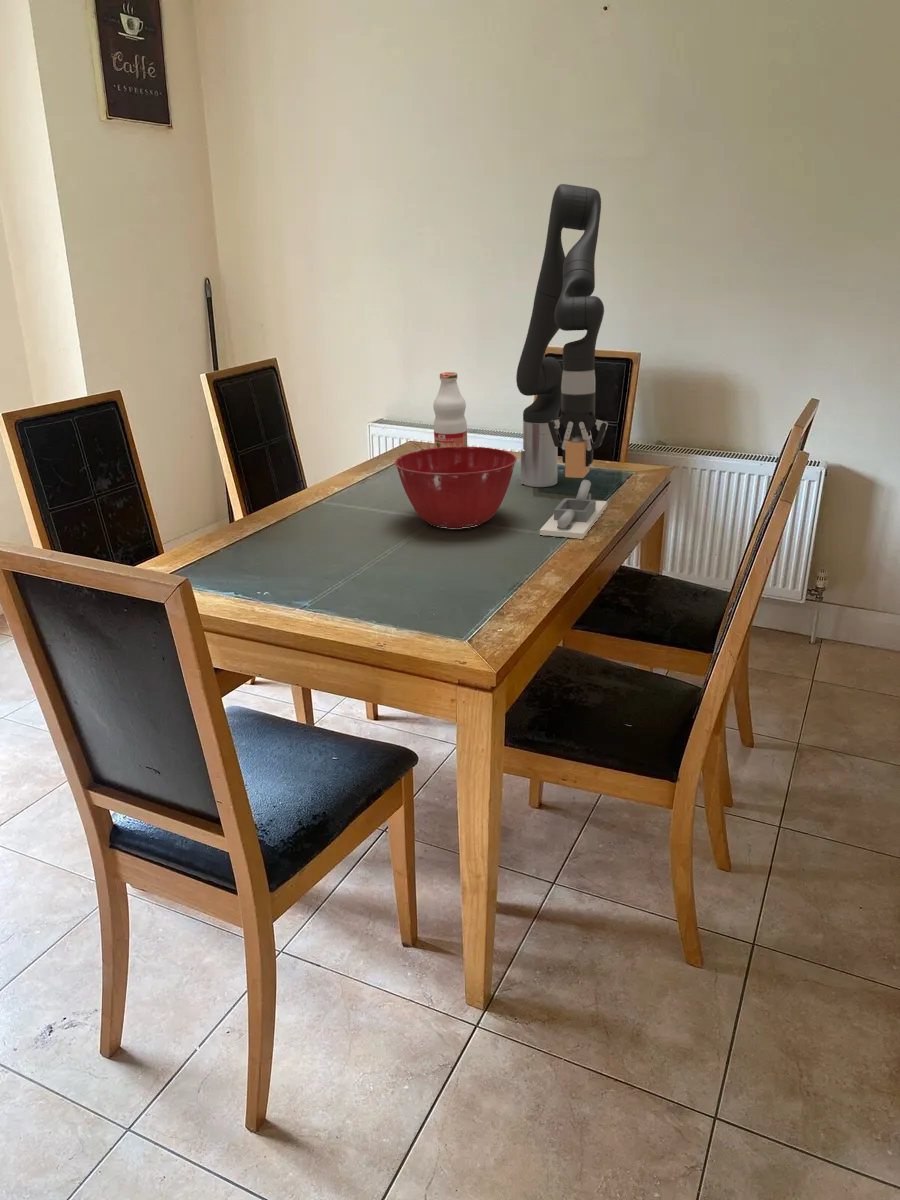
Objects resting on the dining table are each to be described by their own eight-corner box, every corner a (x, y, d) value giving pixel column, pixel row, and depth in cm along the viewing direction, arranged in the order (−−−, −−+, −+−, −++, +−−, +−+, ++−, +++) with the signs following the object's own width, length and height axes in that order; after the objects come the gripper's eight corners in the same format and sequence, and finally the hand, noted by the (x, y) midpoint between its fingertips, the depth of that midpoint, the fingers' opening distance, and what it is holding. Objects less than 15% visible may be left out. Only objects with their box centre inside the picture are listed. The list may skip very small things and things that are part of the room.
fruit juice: (474, 470, 261) (472, 372, 251) (454, 477, 254) (451, 376, 244) (449, 466, 267) (445, 370, 256) (428, 473, 260) (424, 374, 249)
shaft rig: (539, 536, 204) (539, 505, 201) (567, 504, 226) (567, 476, 224) (583, 539, 201) (584, 508, 198) (607, 507, 223) (607, 478, 220)
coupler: (571, 470, 213) (572, 433, 209) (589, 471, 211) (589, 433, 208) (565, 477, 207) (565, 439, 204) (583, 477, 206) (583, 439, 202)
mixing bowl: (414, 503, 232) (411, 443, 226) (524, 506, 227) (524, 445, 221) (384, 538, 207) (380, 472, 201) (508, 542, 201) (507, 474, 195)
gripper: (613, 388, 203) (611, 463, 209) (551, 387, 208) (551, 460, 214) (606, 393, 196) (605, 470, 203) (543, 392, 201) (543, 468, 208)
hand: (577, 465), depth 208 cm, fingers closed on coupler, 4 cm apart
